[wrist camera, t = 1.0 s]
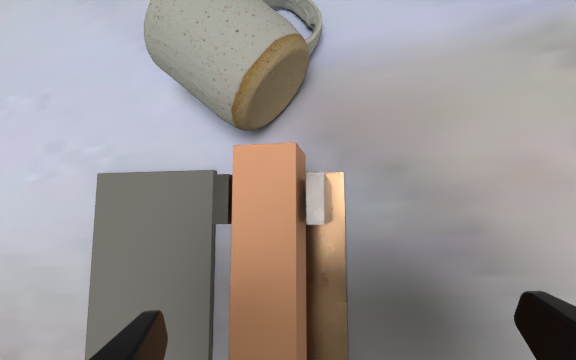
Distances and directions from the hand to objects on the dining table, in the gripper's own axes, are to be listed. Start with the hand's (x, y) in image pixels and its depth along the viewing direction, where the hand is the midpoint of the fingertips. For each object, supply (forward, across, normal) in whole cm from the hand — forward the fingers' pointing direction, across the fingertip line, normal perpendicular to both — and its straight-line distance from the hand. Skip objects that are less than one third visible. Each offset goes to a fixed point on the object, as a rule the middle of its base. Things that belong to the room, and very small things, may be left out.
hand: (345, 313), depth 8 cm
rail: (+6, +2, +8) cm, 10 cm away
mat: (+13, +11, +11) cm, 20 cm away
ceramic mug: (+20, +2, -6) cm, 20 cm away
